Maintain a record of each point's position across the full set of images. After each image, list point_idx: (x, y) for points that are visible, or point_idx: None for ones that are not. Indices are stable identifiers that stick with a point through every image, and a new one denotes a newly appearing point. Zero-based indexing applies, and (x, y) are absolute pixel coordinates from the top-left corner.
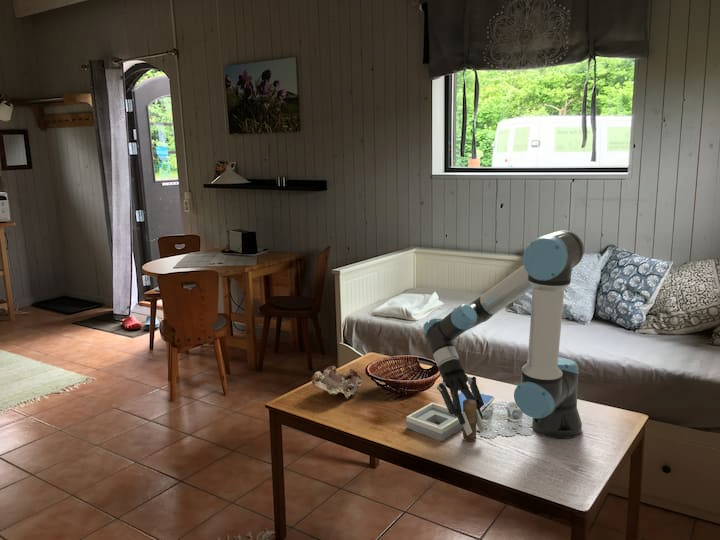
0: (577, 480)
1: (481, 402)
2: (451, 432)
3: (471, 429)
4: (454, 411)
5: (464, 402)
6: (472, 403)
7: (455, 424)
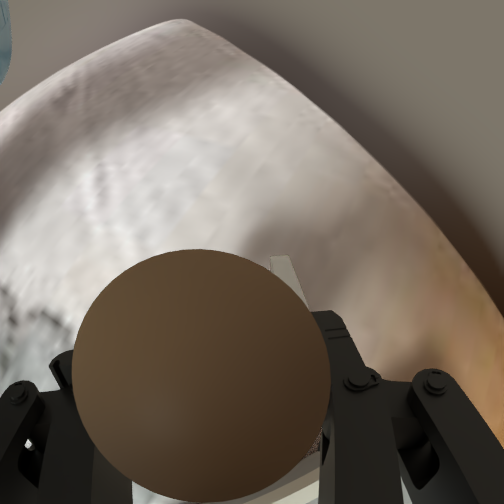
0: (107, 63)
1: (13, 407)
2: (309, 460)
3: (272, 264)
4: (427, 369)
5: (304, 398)
6: (175, 292)
7: (275, 491)
